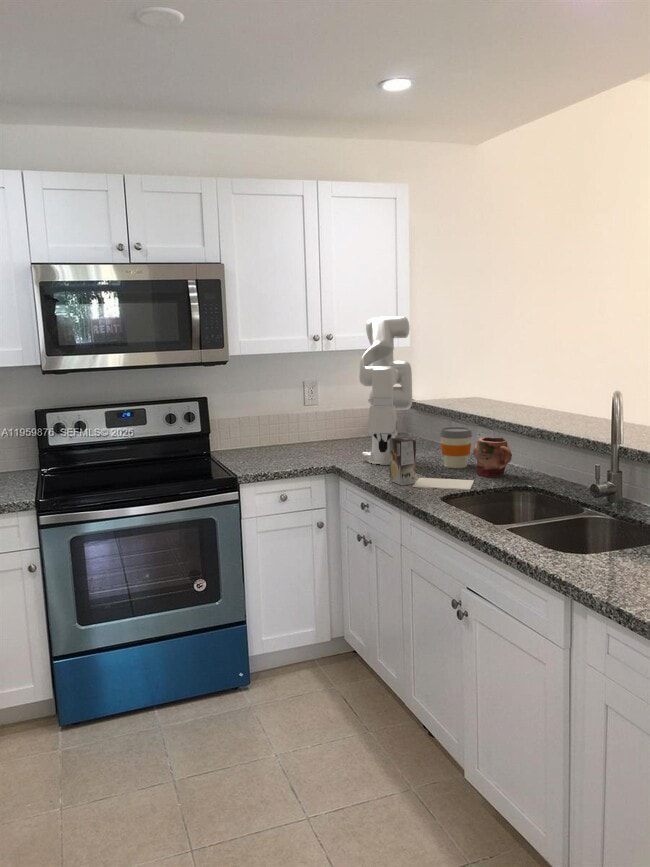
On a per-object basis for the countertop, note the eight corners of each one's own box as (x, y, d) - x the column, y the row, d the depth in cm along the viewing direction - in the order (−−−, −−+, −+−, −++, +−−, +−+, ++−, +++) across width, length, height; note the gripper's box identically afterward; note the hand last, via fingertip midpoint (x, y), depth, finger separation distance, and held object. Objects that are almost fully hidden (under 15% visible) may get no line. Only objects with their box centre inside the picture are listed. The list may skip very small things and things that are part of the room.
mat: (412, 487, 252) (412, 486, 252) (419, 479, 265) (419, 477, 265) (469, 490, 246) (469, 488, 246) (474, 481, 259) (474, 480, 259)
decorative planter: (524, 478, 263) (525, 441, 261) (500, 482, 257) (501, 444, 255) (486, 469, 280) (487, 434, 278) (463, 472, 274) (463, 437, 272)
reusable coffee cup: (446, 461, 296) (446, 426, 294) (475, 464, 290) (476, 428, 287) (435, 467, 285) (435, 430, 283) (465, 470, 279) (465, 432, 277)
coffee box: (416, 484, 257) (417, 440, 255) (400, 485, 255) (401, 441, 252) (403, 479, 265) (404, 436, 263) (388, 480, 263) (389, 437, 261)
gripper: (360, 402, 256) (360, 452, 259) (400, 403, 252) (401, 454, 254) (365, 400, 263) (365, 449, 266) (405, 401, 259) (405, 450, 262)
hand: (383, 451), depth 260 cm, fingers closed
